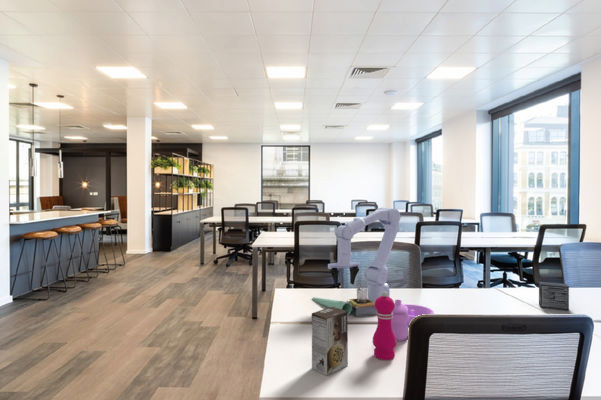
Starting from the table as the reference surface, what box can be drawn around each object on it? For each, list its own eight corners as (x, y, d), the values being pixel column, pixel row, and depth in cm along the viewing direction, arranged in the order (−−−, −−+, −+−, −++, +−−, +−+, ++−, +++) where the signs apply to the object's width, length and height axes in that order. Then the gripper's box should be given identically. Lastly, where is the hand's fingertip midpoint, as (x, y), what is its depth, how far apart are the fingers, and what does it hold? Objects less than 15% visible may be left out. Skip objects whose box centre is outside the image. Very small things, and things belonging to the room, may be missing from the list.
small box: (566, 306, 169) (566, 283, 169) (569, 311, 163) (569, 286, 163) (538, 303, 174) (538, 281, 174) (540, 307, 168) (540, 284, 168)
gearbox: (369, 307, 168) (369, 296, 168) (381, 314, 158) (381, 302, 158) (345, 309, 164) (346, 298, 164) (356, 316, 155) (356, 305, 155)
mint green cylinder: (317, 287, 182) (352, 301, 159) (317, 299, 182) (351, 314, 159) (307, 289, 179) (341, 303, 156) (307, 300, 179) (341, 316, 156)
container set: (400, 317, 154) (401, 285, 154) (439, 325, 145) (439, 291, 145) (373, 336, 134) (373, 299, 134) (415, 346, 125) (415, 307, 125)
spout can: (364, 301, 164) (364, 283, 163) (368, 304, 159) (369, 286, 159) (355, 302, 163) (355, 284, 162) (359, 305, 158) (359, 287, 158)
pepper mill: (369, 351, 121) (370, 288, 121) (391, 350, 122) (392, 288, 122) (376, 361, 114) (376, 294, 114) (399, 360, 115) (400, 294, 114)
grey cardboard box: (332, 358, 116) (332, 306, 116) (348, 365, 111) (348, 310, 111) (310, 368, 110) (310, 312, 109) (327, 376, 105) (327, 317, 105)
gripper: (355, 251, 172) (355, 281, 172) (325, 252, 167) (325, 283, 168) (362, 253, 165) (362, 284, 165) (331, 255, 161) (331, 287, 161)
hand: (344, 284), depth 166 cm, fingers open, 7 cm apart
